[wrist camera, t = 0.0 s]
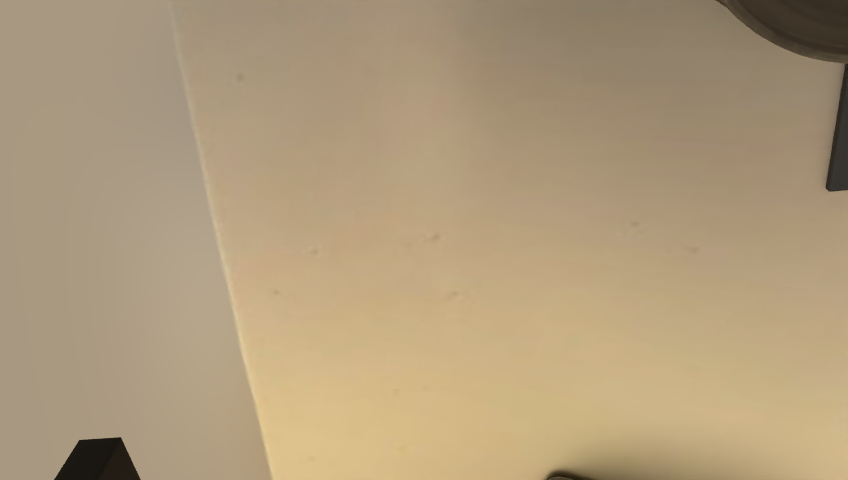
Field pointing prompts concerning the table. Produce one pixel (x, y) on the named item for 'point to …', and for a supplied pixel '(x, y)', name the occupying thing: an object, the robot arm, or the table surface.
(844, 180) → the mat
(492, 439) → the table surface
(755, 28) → the coffee can
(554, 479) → the storage bin
